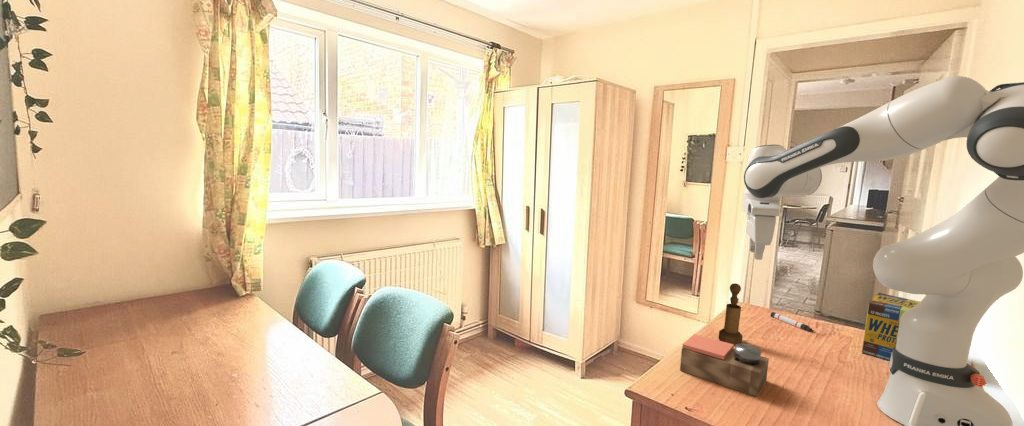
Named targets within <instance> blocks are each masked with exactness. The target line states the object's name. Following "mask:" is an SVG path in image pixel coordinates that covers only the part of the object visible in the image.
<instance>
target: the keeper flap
mask: <svg viewBox="0 0 1024 426" xmlns="http://www.w3.org/2000/svg"><path fill="white" fill-rule="evenodd" d="M682 348H685V349H688V350H692V351H695V352H699V353H702V354H705V355H709V356H712V357H716V358H719V359H723V360H724V359H725V358H726V357H727V355H728V354H729V353H730V352H731V351H732V349H733V348H734V349H735V345H734V344H730V343H726V342H723V341H720V340H719V339H714V338H711V337H708V336H704V335H701V334H700V335H699V334H696V333H694V334H693V335H691V336H690V337H689V338H688V339H687V340H686V341H685V342H683V343H682Z"/></svg>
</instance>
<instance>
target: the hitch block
mask: <svg viewBox="0 0 1024 426" xmlns="http://www.w3.org/2000/svg"><path fill="white" fill-rule="evenodd" d="M734 353H735V347H734V348H733V349H732V351H731V352H730V353H729V354H728V355H727V357H726V358H725V359H724V360H723V359H719V358H716V357H712V356H709V355H705V354H702V353H699V352H695V351H692V350H688V349H685V348H683V347H682V348H681V353H680V354H681V355H680V364H679V366H680V367H679V371H680V372H684V373H686V374H688V375H689V374H690V375H692V376H696V377H698V378H700V379H704V380H706V381H710V382H712V383H715V384H718V385H722V386H724V387H728V388H730V389H733V390H736V391H738V392H743V393H745V394H748V395H751V396H754V397H758V396H759V395H760V392H761V391H762V390H763V388H764V386H765V385H766V382H767V377H768V368H769V360H770V358H768V357H765V356H762V355H761V356H760V364H758V365H753V366H752V365H747V364H744V363H741V362H739V361H737V360H736V359H735V358H734Z"/></svg>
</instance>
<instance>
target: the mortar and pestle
mask: <svg viewBox="0 0 1024 426" xmlns="http://www.w3.org/2000/svg"><path fill="white" fill-rule="evenodd" d="M741 290H742V287H741V286H740V284H739V283H735V282H734V283H732V284H730V286H729V291H730V292H731V297H730V298H729V299H730V303H727V304H726V306H725V307H726V309H725V317H724V318H725V319H724V326H723V327H724V328H722V329H720V330H719V331H718V340H719V341H723V342H726V343H730V344H734V346H735V345H736V344H739V343H743V335H742V333H741V332H739V329H740V322H741V321H740V320H741V311H742V307H741V306H740V305H738V303H739V298H738V295H739V293H740V292H741Z"/></svg>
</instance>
